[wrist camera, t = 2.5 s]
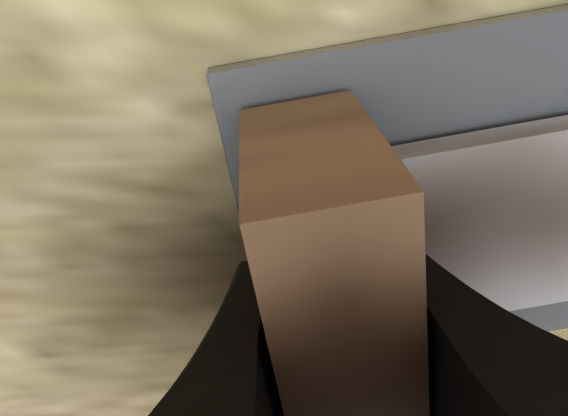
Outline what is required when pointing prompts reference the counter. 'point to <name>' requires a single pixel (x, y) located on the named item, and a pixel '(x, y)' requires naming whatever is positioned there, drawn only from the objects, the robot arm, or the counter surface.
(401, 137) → the tool rest
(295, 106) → the brown grey l-shaped piece
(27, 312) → the counter surface
